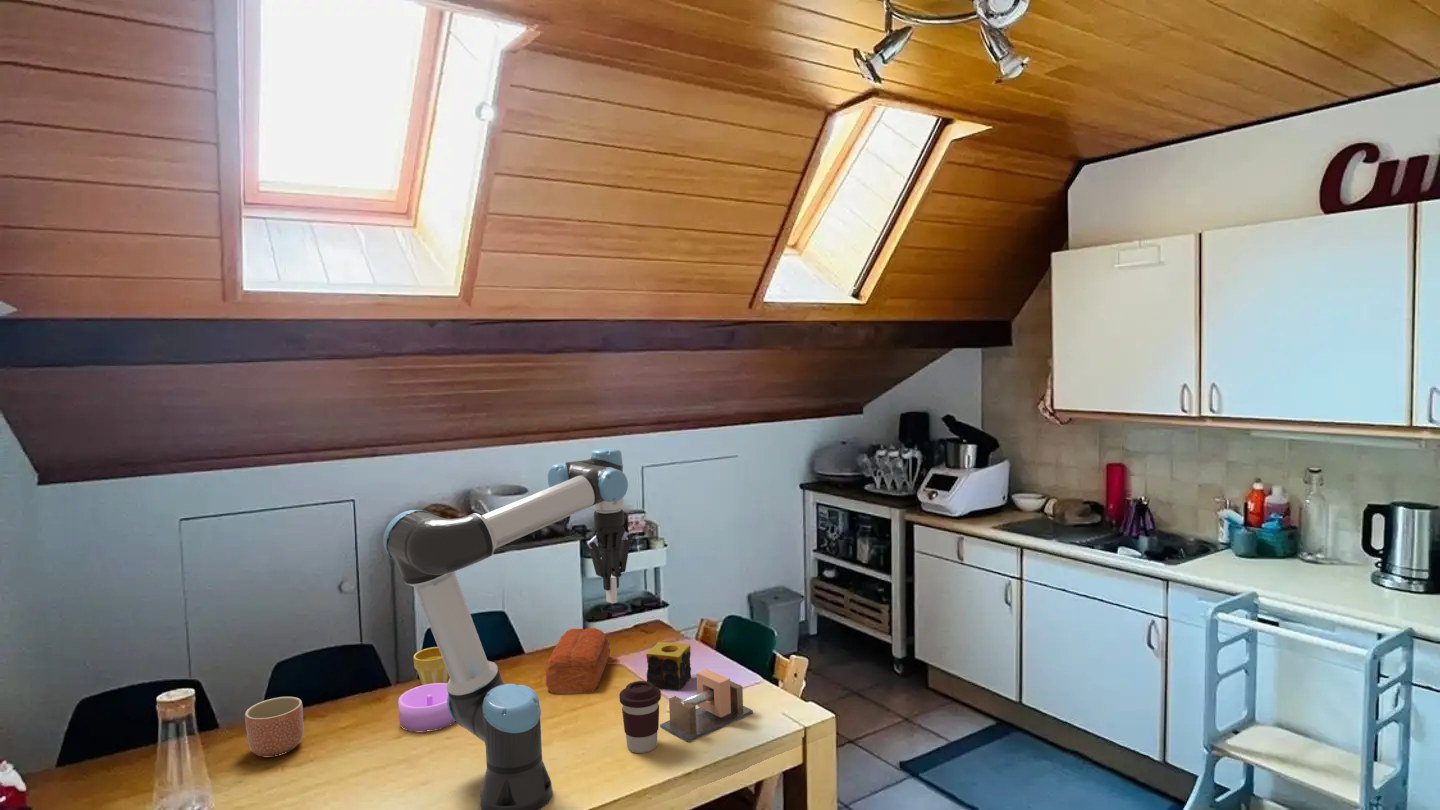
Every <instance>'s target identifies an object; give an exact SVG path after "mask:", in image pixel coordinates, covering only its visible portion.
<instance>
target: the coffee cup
mask: <svg viewBox="0 0 1440 810" xmlns="http://www.w3.org/2000/svg"><path fill="white" fill-rule="evenodd" d="M661 691H662V690H661V689H659V688H657V687H655V686H654V685H653V684H652V683H651V682H647V680H646V681H645V680H637V681H633V682H631V683H628V684H627V685H626V687H625V688H623V689H622V690H621V691H620V692H619V695H618V697H619V698H618V699H619V702H620V704H621V705H622V707H621V711H622V712H621V713H622V719H623V731H624V734H625V740H626V748H627V749H628V750H629V751H630V752H632V753H636V754H645V753H648V752H651V751H653V750H654V749H655V748H657V746H658V731H659V729H660V724H659V721H660V720H659V719H660V704H659V703H660V702H659V701H660V700H661V698H662V693H661Z"/></svg>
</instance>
